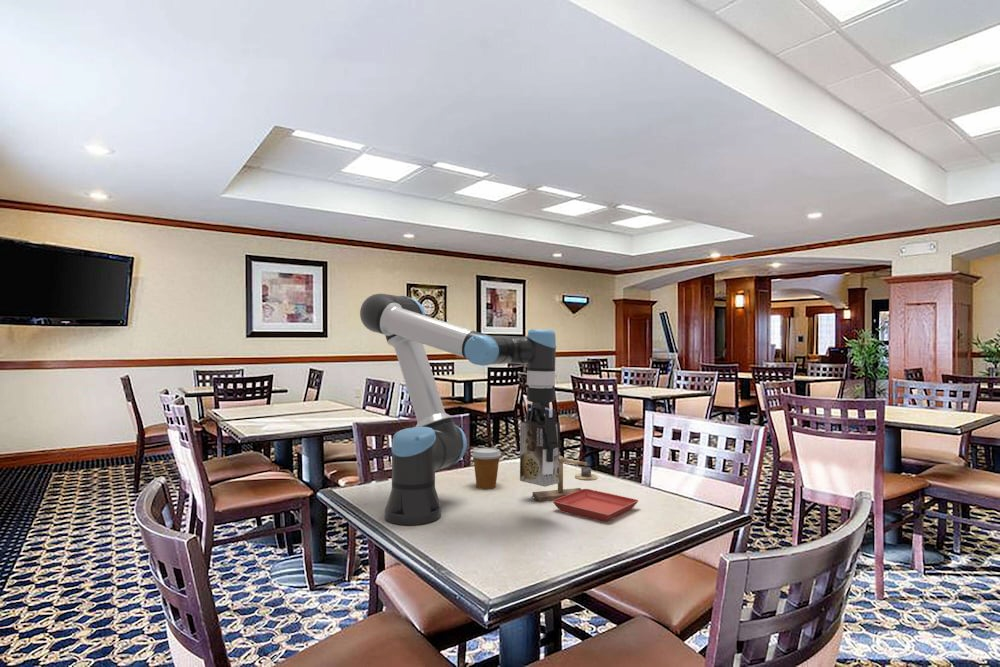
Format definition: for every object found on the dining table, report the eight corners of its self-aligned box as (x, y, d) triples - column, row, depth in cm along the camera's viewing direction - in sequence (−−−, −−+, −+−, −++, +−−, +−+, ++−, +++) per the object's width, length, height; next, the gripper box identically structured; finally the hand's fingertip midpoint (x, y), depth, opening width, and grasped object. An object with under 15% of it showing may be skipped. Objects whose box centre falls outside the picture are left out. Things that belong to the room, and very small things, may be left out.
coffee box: (560, 483, 146) (561, 422, 146) (544, 487, 141) (546, 425, 142) (533, 476, 152) (535, 418, 153) (518, 480, 148) (519, 420, 148)
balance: (527, 504, 161) (527, 456, 161) (518, 497, 167) (518, 452, 168) (601, 496, 169) (601, 452, 169) (590, 491, 175) (590, 448, 175)
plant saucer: (639, 510, 156) (639, 499, 156) (608, 526, 142) (608, 513, 142) (584, 498, 168) (584, 488, 168) (550, 512, 154) (550, 500, 154)
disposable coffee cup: (498, 491, 175) (498, 453, 175) (468, 489, 176) (469, 452, 177) (502, 483, 184) (502, 447, 185) (474, 482, 186) (475, 447, 186)
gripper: (572, 390, 137) (571, 478, 137) (537, 383, 159) (536, 459, 159) (544, 390, 135) (543, 480, 135) (513, 383, 157) (511, 460, 157)
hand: (539, 469), depth 147 cm, fingers closed on coffee box, 11 cm apart
